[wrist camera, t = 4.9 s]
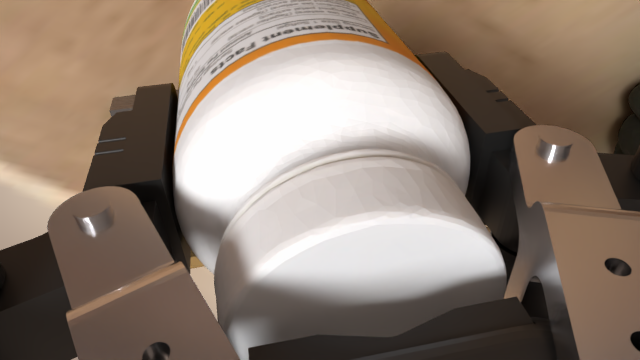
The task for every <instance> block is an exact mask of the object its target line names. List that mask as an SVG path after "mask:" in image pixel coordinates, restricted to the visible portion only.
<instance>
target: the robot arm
mask: <svg viewBox="0 0 640 360" xmlns="http://www.w3.org/2000/svg"><path fill="white" fill-rule="evenodd" d="M414 56H415V57H416V58H417V59H418V60H419V61H420V62H421V64H422V65H423V66H424V67H425V68H426V69H427V70H428V71H429V72H430V73H431V75H432V76H433V77H434V78H435V80H436V81H437V82H438V83H439V85H440V86H441V87H442V89H443V90H444V91H445V93H446V94H447V95H448V97H449V98H450V100H451V101H452V103H453V104H454V105H455V107H456V109H457V111H458V113H459V115H460V117H461V119H462V122H463V124H464V128H465V131H466V134H467V137H468V142H469V149H470V175H469V181H468V187H467V190H466V194H465V197H466V199H467V200H468V202H469V203H470V204H471V206H472V207H473V209H474V210H475V211H476V213H477V214H478V216H479V217H480V219H481V220H482V222H483V224H484V225H487V226H488V227H489V229H490V234H491V236H492V238H493V239H494V241H495V242H496V244H497V245H498V247H499V249H500V251H501V254H502V257H503V260H504V263H505V266H506V273H507V279H506V290H505V295H504V299H500V300H495V301H490V302H485V303H479V304H474V305H469V306H464V307H459V308H454V309H452V310H450V311H448V312H446V313H444V314H441V315H439V316H437V317H435V318H433V319H431V320H429V321H427V322H425V323H423V324H420V325H418V326H416V327H414V328H412V329H410V330H408V331H406V332H404V333H402V334H399V335H397V336H393V337H370V336H344V335H313V336H307V337H302V338H297V339H292V340H286V341H281V342H276V343H271V344H266V345H260V346H255V347H250V348H248V353H249V360H640V145H639V148H638V150H637V152H636V154H635V155H623V154H605V153H597V151H596V149H595V147H594V145H593V144H592V143H591V142H590V141H589V140H588V139H587V138H585V137H584V136H582V135H581V134H579V133H576V132H574V131H572V130H569V129H566V128H562V127H558V126H551V125H536V124H535V123H534V122H533V121H532V120H531V119H530V118H529V117H528V116H526V115H525V114H524V113H523V112H522V111H521V110H520V109H519V108H518V107H517V106H516V105H515V104H514V103H513V102H512V101H508V98H507V97H506V96H505V95H504V94H503V93H502V92H501V91H500V92H499V89H498V88H497V87H496V86H495V85H494V84H493V83H492V82H491V81H489V80H488V79H487V78H486V77H484V76H481V75H479V74H477V73H475V72H473V71H471V70H464V69H463V68H462V67H461V66H460V65H459V64H458V63H457V62H456V61H455V60H454V59H453V58H452V57H451V56H450V55H449V54H448V53H447V52H437V53H429V54H420V55H414ZM177 104H178V97H177V93H176V90H175V87H174V85H173V83H169V84H161V85H152V86H144V87H138V88H137V92H136V96H135V100H134V105H133V109H132V111H123V112H117V113H115V114H114V115H113V116H112V117H111V118H110V119H109V120H108V121H107V122H106V123H105V124H104V125H103V127H102V130H101V133H100V137H99V140H98V141H99V143H98V144H97V146H96V150H95V156H93V159H92V163H91V166H90V169H89V172H88V176H87V179H86V182H85V185H84V189H83V192H81V193H79V194H77V195H75V196H73V197H71V198H69V199H68V200H66V201H65V202H63V203H62V204H61V205H60V206H58V207H57V209H56V210H55V211H54V212H53V213H52V215H51V216H50V218H49V221H48V225H47V229H48V232H47V233H45V234H43V235H41V236H38V237H36V238H34V239H31V240H28V241H25V242H23V243H20V244H17V245H14V246H11V247H9V248H6V249H3V250H0V360H71V359H73V358H75V357H78V360H240V358H239V357H238V355H237V353H236V352H235V350H234V348H233V347H232V345H231V343H230V342H229V340H228V338H227V336H226V335H225V333H224V331H223V330H222V328H221V326H220V325H219V323H218V321H217V320H216V318H215V317H214V315H213V313H212V311H211V309H210V308H209V306H208V304H207V303H206V301H205V299H204V298H203V296H202V294H201V293H200V291H199V289H198V288H197V286H196V284H195V282H194V281H193V279H192V277H191V276H190V258H191V248H190V247H189V245H188V243H187V242H186V240H185V238H184V236H183V234H182V231H181V228H180V226H179V223H178V220H177V216H176V212H175V207H174V199H173V173H172V167H173V154H174V142H175V129H176V115H177Z"/></svg>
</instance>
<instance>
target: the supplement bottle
mask: <svg viewBox="0 0 640 360" xmlns="http://www.w3.org/2000/svg"><path fill="white" fill-rule="evenodd" d="M172 173H173V199H174V207H175V212H176V216H177V220H178V223H179V226H180V228H181V231H182V234H183V236H184V238H185V240H186V242H187V243H188V245H189V247H190V248H191V250H192V251H193V253H194V254H195V255H196V257H197V258H198V259H199V260H200V261H201V262H202V264H203V265H204V266H205V267H206V268H207V269H208V270H209V271H210V272H211V273H213V274H214V286H215V294H216V303H217V315H218V323H219V325H220V326H221V328H222V330H223V331H224V333H225V335H226V336H227V338H228V340H229V342H230V343H231V345H232V347H233V348H234V350H235V352H236V353H237V355H238V357H239V358H240V360H249V353H248V348H250V347H255V346H260V345H266V344H271V343H276V342H281V341H286V340H292V339H297V338H302V337H307V336H313V335H344V336H370V337H393V336H397V335H399V334H402V333H404V332H406V331H408V330H410V329H412V328H414V327H416V326H418V325H420V324H423V323H425V322H427V321H429V320H431V319H433V318H435V317H437V316H439V315H441V314H444V313H446V312H448V311H450V310H452V309H454V308H459V307H464V306H469V305H474V304H479V303H485V302H490V301H495V300H500V299H504V295H505V290H506V279H507V273H506V266H505V263H504V260H503V257H502V254H501V251H500V249H499V247H498V245H497V244H496V242H495V241H494V239H493V238H492V236H491V234H490V233H489V231H488V230H487V228H486V227H485V225H484V224H483V222H482V220H481V219H480V217H479V216H478V214H477V213H476V211H475V210H474V209H473V207H472V206H471V204H470V203H469V202H468V200H467V199H466V197H465V194H466V190H467V187H468V181H469V175H470V149H469V142H468V137H467V134H466V131H465V128H464V124H463V122H462V119H461V117H460V115H459V113H458V111H457V109H456V107H455V105H454V104H453V103H452V101H451V100H450V98H449V97H448V95H447V94H446V93H445V91H444V90H443V89H442V87H441V86H440V85H439V83H438V82H437V81H436V80H435V78H434V77H433V76H432V75H431V73H430V72H429V71H428V70H427V69H426V68H425V67H424V66H423V65H422V64H421V62H420V61H419V60H418V59H417V58H416V57H415V56H414V54H413V53H412V52H411V51H410V50H409V49H408V48H407V46H406V45H405V44H404V43H403V42H402V41H401V39H400V38H399V37H398V36H397V35H396V34H395V32H394V31H393V30H392V29H391V28H390V27H389V26H388V25H387V24H386V22H385V21H384V20H383V19H382V18H381V17H380V16H379V14H378V13H377V12H376V11H375V9H374V8H373V7H372V6H371V5H370V4H369V3H368V2H367V0H195V1H194V3H193V5H192V7H191V10H190V12H189V15H188V18H187V21H186V25H185V29H184V33H183V38H182V48H181V61H180V75H179V89H178V104H177V115H176V129H175V142H174V154H173V167H172Z"/></svg>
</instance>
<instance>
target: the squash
mask: <svg viewBox="0 0 640 360" xmlns="http://www.w3.org/2000/svg"><path fill="white" fill-rule="evenodd" d="M628 101H629V106H630V108H631V109H632V111H633V112H634V113H633V114H632V115H630V116H629V117H628V118H627V119H626V120H625V121H624V123H623V125H622V126H621V128H620V131H619V134H618V142H617V145H616V147H615V151H614V154H623V155H635V154H636V152H637V150H638V148H639V145H640V84H639V85H638V86H636V87H635V88H634V89H633V90H632V91H631V93H630V95H629V99H628Z"/></svg>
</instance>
